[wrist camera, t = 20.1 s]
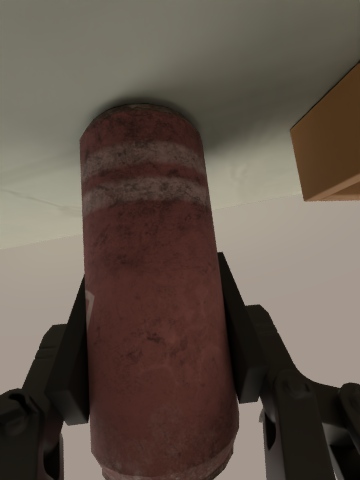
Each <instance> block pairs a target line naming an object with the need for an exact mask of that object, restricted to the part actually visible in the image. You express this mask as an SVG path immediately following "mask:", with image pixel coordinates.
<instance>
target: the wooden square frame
mask: <svg viewBox="0 0 360 480" xmlns="http://www.w3.org/2000/svg"><path fill="white" fill-rule="evenodd" d="M290 133H291V138H292V143H293V148H294V153H295V158H296V163H297V168H298V173H299V178H300V183H301V188H302V193H303V198H304V201H344V200H345V201H346V200H347V201H348V200H360V62H359V63H358V64H357V65H356V66H355V67H354V68H353V69H352V70H351V71H350V72H349V73H348V74H347V75H346V76H345V77H344V78H343V79H342V80H341V81H340V82H339V83H338V84H337V85H336V86H335V87H334V88H333V89H332V90H331V91H330V92H329V93H328V94H327V95H326V96H325V97H324V98H323V99H322V100H321V101H320V102H319V103H317V104H316V105H315V106H314V107H313V108H312V109H311V110H310V111H309V112H308V113H307V114H306V115H305V116H304V117H303V118H302V119H301V120H300V121H299V122H298V123H297V124H296V125H295V126H294V127H293V128H292V129H291V130H290Z"/></svg>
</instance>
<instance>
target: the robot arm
mask: <svg viewBox="0 0 360 480" xmlns="http://www.w3.org/2000/svg"><path fill="white" fill-rule="evenodd" d="M217 255H218V262H219V270H220V277H221V284H222V292H223V299H224V306H225V314H226V321H227V328H228V336H229V343H230V351H231V359H232V366H233V374H234V382H235V389H236V394H237V398H238V401H239V404H242V403H249V402H257V401H258V398H259V396H260V398H261V401H262V404H263V409H262V411H261V414H260V418H259V422H262V421H263V433H264V449H265V463H266V478H267V480H336V479H335V474H336V477H337V479H338V480H360V385H359V384H357V383H346V384H344V385H343V386H342V387H341V388H337V387H333V386H328V385H324V384H319V383H317V382H314V381H312V380H310V379H308V378H306V377H305V376H304V375H303V374H301V373H300V372H299V370H298V369H297V368H296V366H295V365H294V363H293V361H292V359H291V357H290V355H289V353H288V351H287V349H286V347H285V345H284V343H283V341H282V339H281V337H280V335H279V333H277V329H276V327H275V325H274V324H273V321H272V319H271V317H270V315H269V313H268V312H267V311H266V310H265V309H264V308H263V307H262V306H261V305H248V306H245V305H244V302H243V300H242V298H241V295H240V293H239V290H238V288H237V285H236V283H235V281H234V278H233V276H232V273H231V271H230V269H229V266H228V264H227V261H226V259H225V257H224V254H223V252H217ZM89 415H90V404H89V377H88V350H87V323H86V297H85V274H84V277H83V279H82V283H81V285H80V288H79V291H78V294H77V297H76V300H75V303H74V306H73V309H72V311H71V314H70V317H69V320H68V323H67V324H60V325H53V326H52V327H51V328H50V329H49V330H48V331H47V333H46V334H45V335H44V337H43V339H42V341H41V344H40V346H39V350H38V351H37V353H36V356H35V360H34V361H33V363H32V365H31V368H30V370H29V373H28V375H27V377H26V380H25V382H24V384H23V387H22V389H19V388H17V389H13V390H9V391H7V392H5V393H3V394H2V395H0V480H64V460H63V437H62V434H61V429H62V425H63V421H65V422H66V424H67V425H77V424H85V423H88V420H89ZM333 469H334V470H333ZM334 472H335V474H334Z"/></svg>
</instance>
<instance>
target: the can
mask: <svg viewBox="0 0 360 480" xmlns="http://www.w3.org/2000/svg"><path fill="white" fill-rule="evenodd" d="M80 162H81V189H82V216H83V241H84V242H83V243H84V267H85V269H84V270H85V297H86V323H87V350H88V377H89V404H90V429H91V430H90V432H91V452H92V454H93V455H94V457H95V458H96V460H97V461H98V463H99V464H100V466H101V467H102V475H103V476H104V478H105V479H106V480H213V479H214V478H215V477H216V476H218V475H219V474H220V473H221V472H222V471H223V470H224V469H225V467H226V465H227V463H228V461H229V459H230V458H231V456H232V454H233V444H234V440H235V438H236V435H237V432H238V429H239V410H238V402H237V394H236V389H235V382H234V374H233V366H232V359H231V351H230V343H229V336H228V328H227V321H226V314H225V306H224V299H223V292H222V284H221V277H220V270H219V262H218V255H217V248H216V241H215V233H214V226H213V218H212V211H211V204H210V196H209V189H208V182H207V174H206V167H205V159H204V152H203V145H202V141H201V137H200V134H199V132H198V131H197V130H196V129H195V128H194V127H193V126H192V125H191V124H190V123H189V122H188V121H187V120H186V119H185V118H184V117H183V116H182V115H181V114H179V113H177V112H175V111H173V110H171V109H169V108H167V107H162V106H156V105H151V104H129V105H123V106H120V107H116V108H113V109H110V110H107V111H105V112H104V113H102V114H101V115H100V116H98V117H97V118H95V119H94V120H93V121H92V122H91V124H90V125H89V126H88V127H87V129H86V130H85V132H84V134H83V135H82V137H81V139H80Z"/></svg>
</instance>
